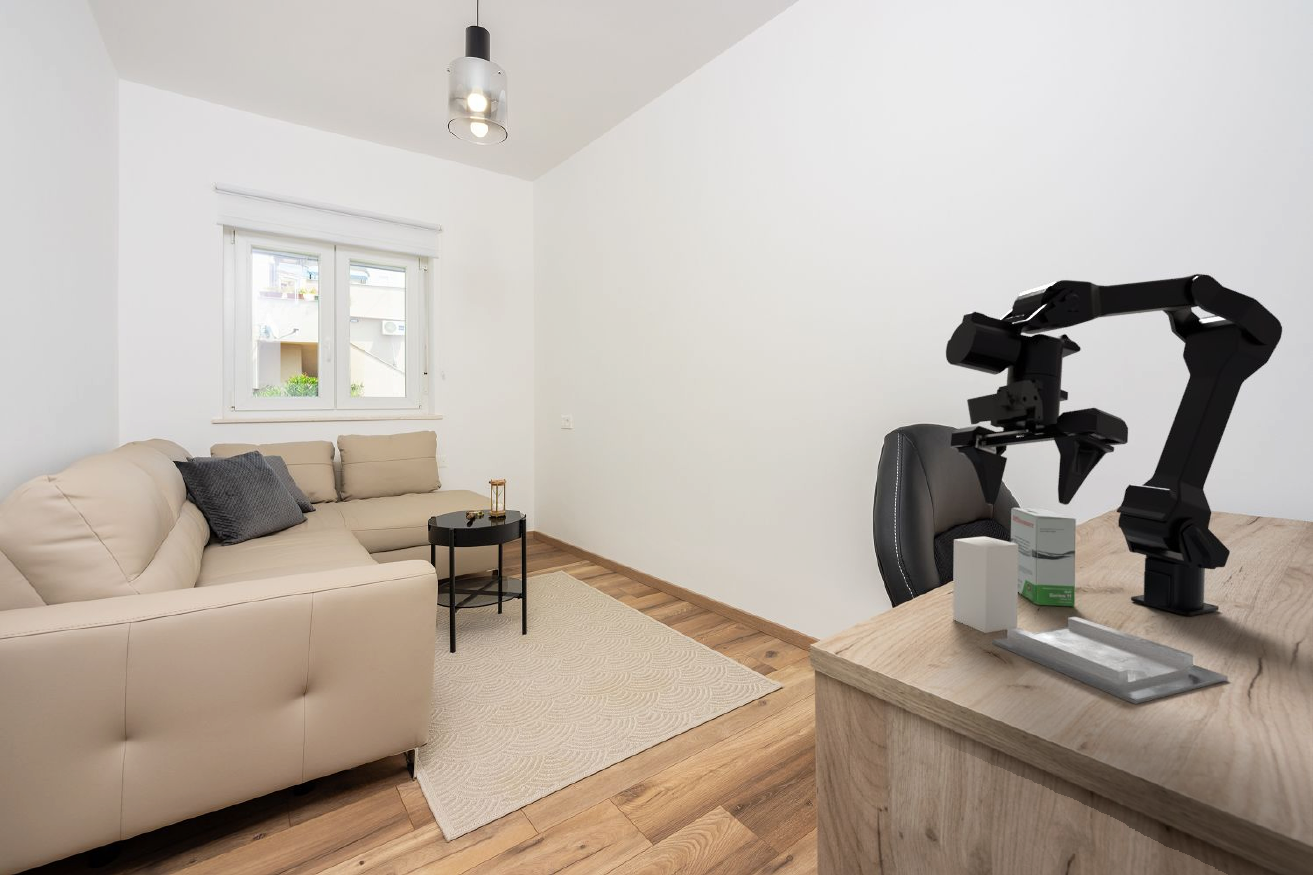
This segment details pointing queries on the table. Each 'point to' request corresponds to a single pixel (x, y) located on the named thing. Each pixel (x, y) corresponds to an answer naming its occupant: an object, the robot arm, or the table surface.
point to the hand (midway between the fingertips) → (1024, 504)
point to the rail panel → (1111, 660)
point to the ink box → (1045, 555)
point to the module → (985, 583)
